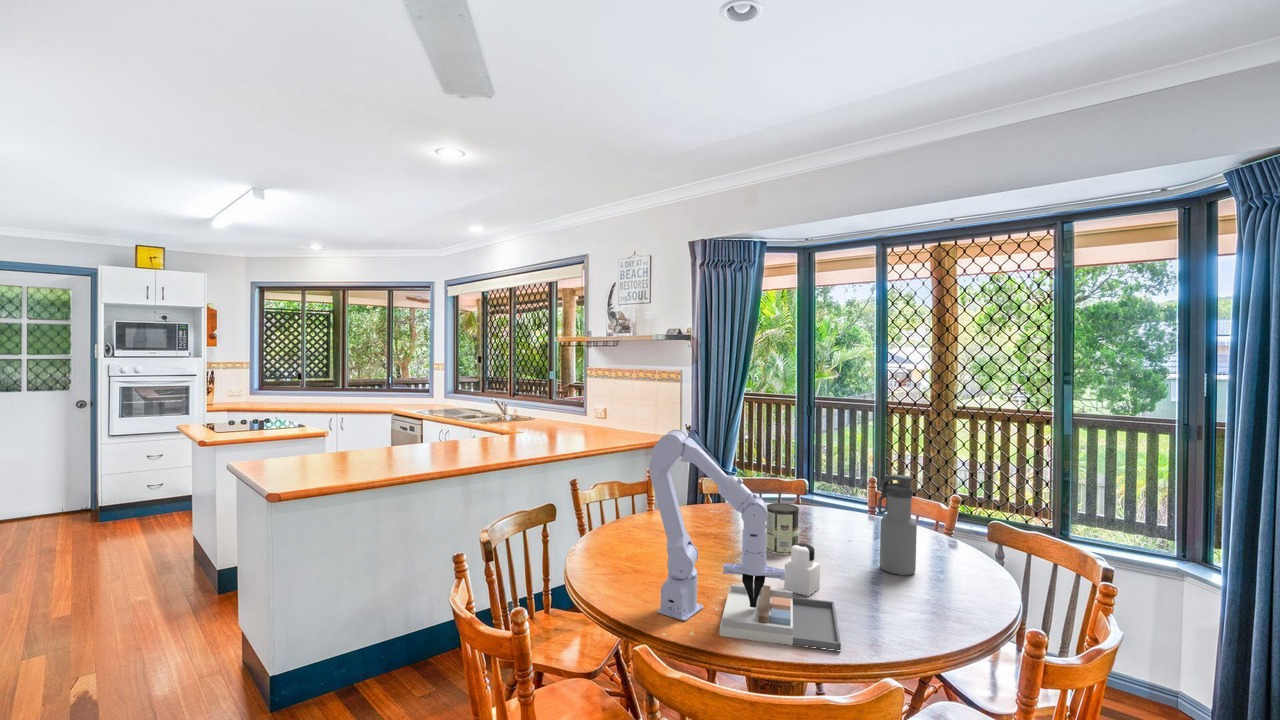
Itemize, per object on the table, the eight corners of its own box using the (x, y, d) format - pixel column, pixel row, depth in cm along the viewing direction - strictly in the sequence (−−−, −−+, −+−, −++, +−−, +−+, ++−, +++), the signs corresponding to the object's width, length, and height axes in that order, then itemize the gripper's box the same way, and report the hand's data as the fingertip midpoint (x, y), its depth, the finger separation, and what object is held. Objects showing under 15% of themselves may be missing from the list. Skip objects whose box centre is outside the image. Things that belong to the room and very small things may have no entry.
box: (792, 645, 131) (792, 637, 131) (792, 604, 152) (792, 597, 152) (840, 652, 128) (840, 643, 128) (833, 608, 150) (833, 601, 150)
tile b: (770, 623, 137) (770, 616, 137) (770, 614, 142) (771, 608, 142) (790, 625, 136) (790, 619, 136) (790, 616, 140) (790, 610, 140)
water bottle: (872, 569, 177) (875, 475, 177) (886, 561, 184) (888, 471, 184) (907, 579, 170) (910, 481, 170) (920, 570, 177) (923, 476, 176)
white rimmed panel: (719, 635, 135) (719, 620, 135) (729, 596, 156) (729, 583, 156) (792, 645, 131) (793, 629, 131) (792, 604, 152) (792, 590, 152)
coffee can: (785, 543, 200) (786, 501, 199) (804, 553, 190) (805, 509, 190) (759, 546, 196) (760, 504, 196) (777, 557, 186) (778, 512, 186)
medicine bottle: (795, 582, 167) (796, 539, 166) (819, 589, 162) (821, 545, 162) (783, 589, 161) (784, 545, 161) (809, 597, 157) (810, 551, 156)
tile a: (771, 610, 144) (771, 603, 144) (771, 602, 148) (771, 596, 148) (790, 612, 143) (790, 606, 143) (790, 604, 147) (790, 598, 147)
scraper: (758, 626, 135) (758, 615, 135) (762, 594, 152) (762, 585, 152) (767, 627, 134) (767, 616, 134) (770, 595, 152) (770, 585, 152)
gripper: (785, 547, 146) (784, 602, 146) (725, 541, 149) (724, 595, 149) (785, 556, 139) (784, 614, 139) (722, 550, 142) (721, 607, 143)
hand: (753, 605), depth 144 cm, fingers closed
